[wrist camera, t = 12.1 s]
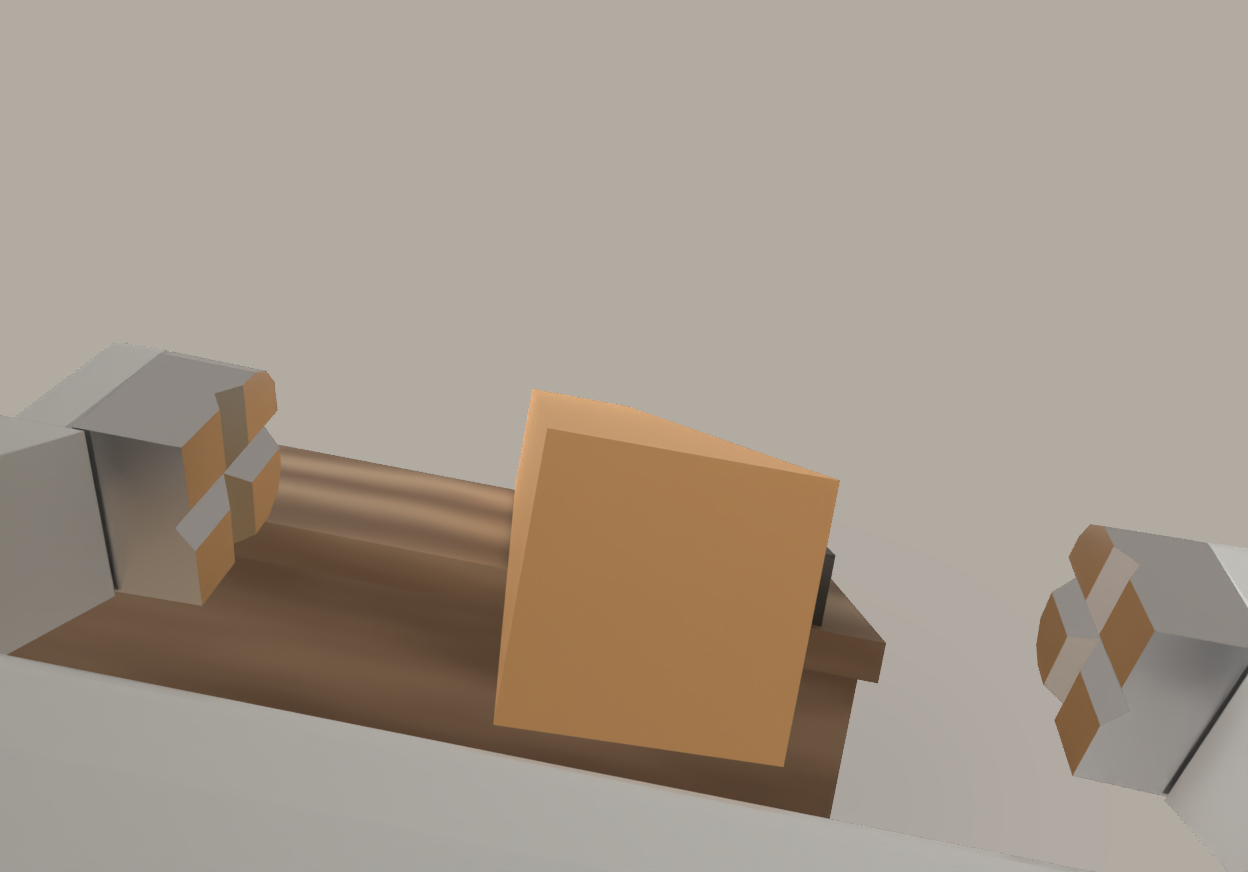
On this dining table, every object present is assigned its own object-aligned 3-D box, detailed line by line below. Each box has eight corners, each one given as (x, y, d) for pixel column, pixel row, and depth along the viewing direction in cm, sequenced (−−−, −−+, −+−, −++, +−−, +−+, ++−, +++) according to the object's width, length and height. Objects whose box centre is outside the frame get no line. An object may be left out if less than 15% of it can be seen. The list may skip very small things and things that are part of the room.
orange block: (783, 767, 13) (840, 481, 13) (493, 724, 13) (547, 428, 13) (609, 500, 41) (627, 406, 41) (515, 483, 41) (532, 388, 41)
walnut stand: (686, 1637, 25) (900, 570, 24) (-168, 1427, 26) (-8, 396, 25) (683, 1155, 41) (811, 501, 40) (153, 1037, 42) (261, 397, 41)
